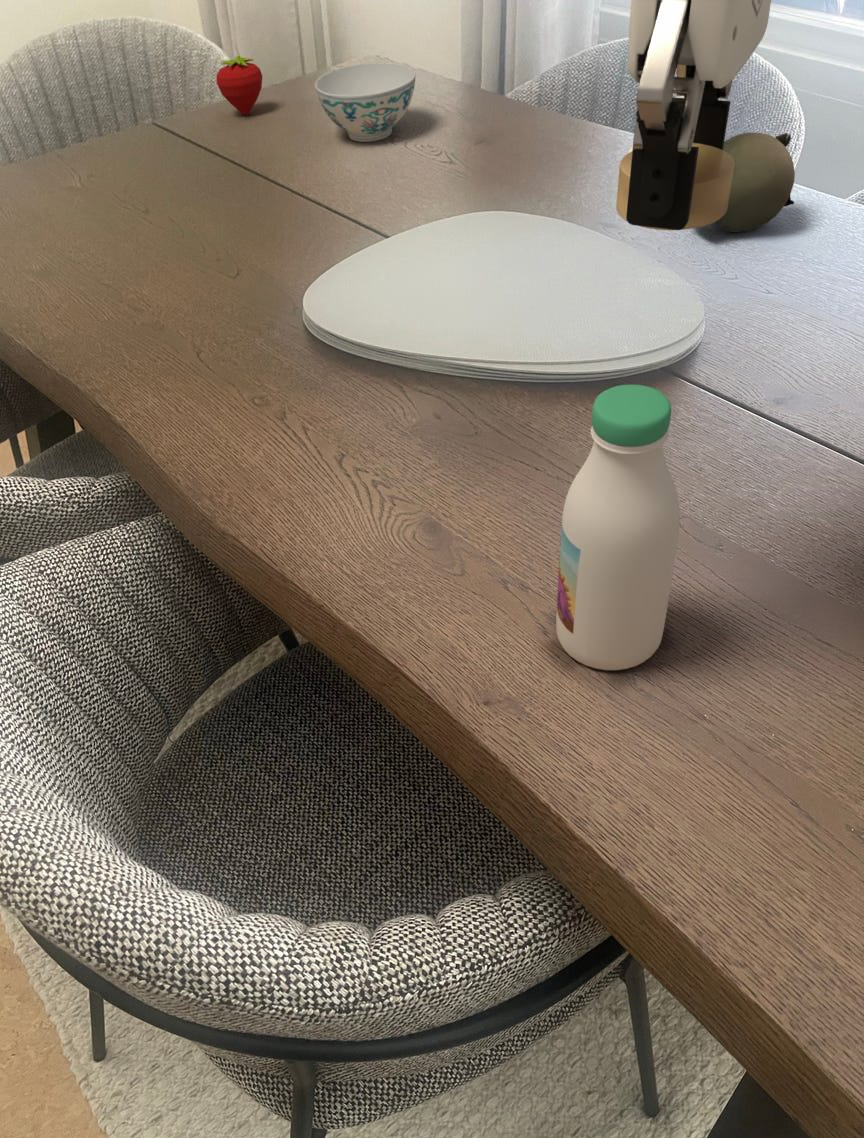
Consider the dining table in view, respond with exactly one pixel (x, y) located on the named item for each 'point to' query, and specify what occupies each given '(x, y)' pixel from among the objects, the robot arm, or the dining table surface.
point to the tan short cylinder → (707, 188)
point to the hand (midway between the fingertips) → (673, 196)
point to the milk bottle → (619, 535)
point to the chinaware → (367, 97)
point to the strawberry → (240, 83)
